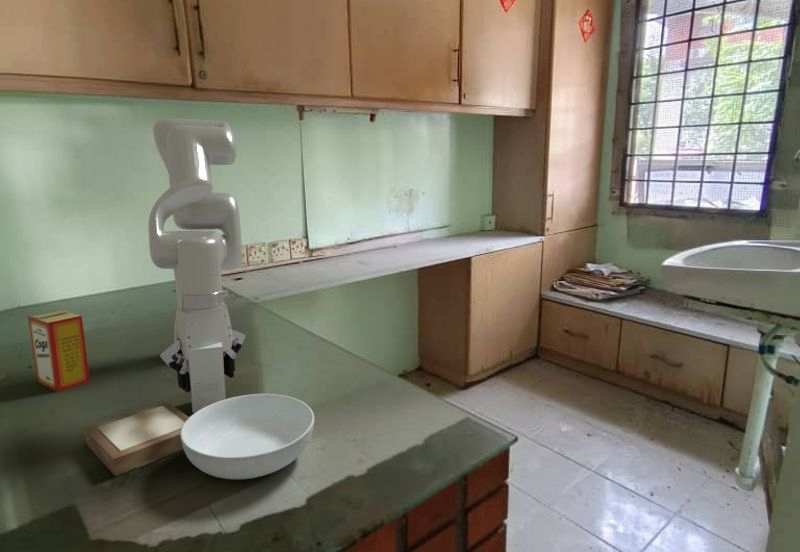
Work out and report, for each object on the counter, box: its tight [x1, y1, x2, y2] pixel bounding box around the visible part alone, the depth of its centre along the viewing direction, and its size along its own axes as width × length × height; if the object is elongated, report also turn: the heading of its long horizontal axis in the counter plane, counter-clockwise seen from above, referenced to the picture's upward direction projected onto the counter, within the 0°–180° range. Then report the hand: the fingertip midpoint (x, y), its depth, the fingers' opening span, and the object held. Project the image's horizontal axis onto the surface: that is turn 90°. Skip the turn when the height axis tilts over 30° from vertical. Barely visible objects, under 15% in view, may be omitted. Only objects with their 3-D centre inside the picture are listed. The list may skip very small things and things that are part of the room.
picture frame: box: [84, 401, 190, 477], centre depth 84 cm, size 14×14×3 cm
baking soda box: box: [27, 309, 91, 393], centre depth 107 cm, size 10×6×16 cm
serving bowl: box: [180, 393, 315, 480], centre depth 79 cm, size 21×21×7 cm
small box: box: [188, 342, 227, 414], centre depth 96 cm, size 8×6×13 cm
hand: (208, 382), depth 96 cm, fingers closed on small box, 8 cm apart
